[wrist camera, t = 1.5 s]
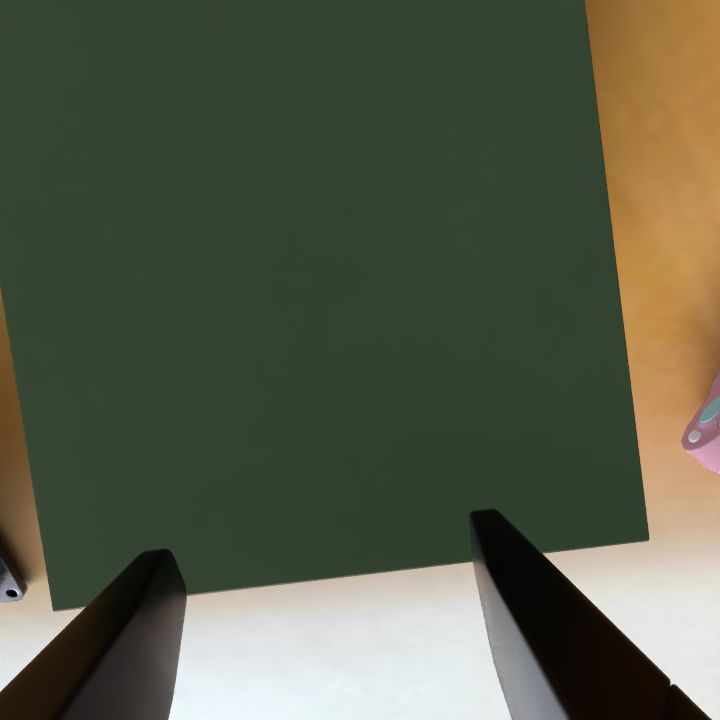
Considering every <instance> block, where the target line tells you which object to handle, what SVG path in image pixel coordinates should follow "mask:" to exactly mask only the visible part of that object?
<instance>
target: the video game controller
mask: <svg viewBox="0 0 720 720" xmlns="http://www.w3.org/2000/svg"><path fill="white" fill-rule="evenodd" d="M681 441H682V447H683V448H684V449H685V450H686V451H687V452H688V453H689V454H691V455H692V456H693V457H694V458H695V459H697V460H698V461H699V462H700V463H701V464H702V465H703V466H704V467H705V468H706V469H707V470H712V471H714V472H716V473H718V474H719V475H720V372H719V373H718V375H717V376H716V378H715V379H714V381H713V383H712V386H711V390H710V393H709V395H708V397H707V399H706V401H705V402H704V403H703V405H702V406H701V408H700V409H699V410H698V412H697V413H696V414H695V416H694V417H693V419H692V420H691V422H690V423H689V424H688V426H687V428H686V430H685V432H684V435H683V437H682V440H681Z"/></svg>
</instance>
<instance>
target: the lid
mask: <svg viewBox="0 0 720 720" xmlns="http://www.w3.org/2000/svg"><path fill="white" fill-rule="evenodd" d="M0 288H1V294H2V300H3V306H4V313H5V319H6V325H7V331H8V337H9V343H10V349H11V356H12V362H13V368H14V374H15V380H16V386H17V392H18V399H19V405H20V411H21V417H22V423H23V429H24V435H25V442H26V448H27V454H28V460H29V466H30V472H31V478H32V485H33V491H34V497H35V503H36V509H37V515H38V521H39V528H40V534H41V540H42V546H43V552H44V558H45V564H46V571H47V577H48V583H49V589H50V595H51V601H52V607H53V611H55V612H56V611H64V610H73V609H81V608H86V607H87V606H88V605H89V604H90V603H91V602H92V601H93V600H94V599H95V598H96V597H97V596H98V595H99V594H100V593H101V592H102V591H103V590H104V589H105V588H106V587H107V586H108V585H109V584H110V583H111V582H112V581H113V580H114V579H115V578H116V577H117V576H118V575H119V574H120V573H121V572H122V571H123V570H124V569H125V568H126V567H127V566H128V565H129V564H130V563H131V562H132V561H133V560H134V559H135V558H136V557H137V556H138V555H139V554H141V553H142V552H144V551H148V550H156V549H164V548H166V549H169V550H170V551H171V552H172V553H173V555H174V557H175V560H176V562H177V565H178V567H179V569H180V572H181V574H182V577H183V579H184V582H185V585H186V590H187V596H190V595H199V594H207V593H216V592H224V591H232V590H241V589H249V588H258V587H266V586H274V585H283V584H291V583H300V582H308V581H316V580H325V579H333V578H342V577H350V576H358V575H367V574H375V573H384V572H392V571H400V570H409V569H417V568H426V567H434V566H442V565H451V564H459V563H468V562H473V560H472V553H471V541H470V527H469V514H470V512H472V511H474V510H482V509H491V508H494V509H497V510H498V511H499V512H500V513H501V514H502V515H503V516H504V517H505V518H506V519H508V520H509V521H510V522H511V523H512V524H513V525H514V526H515V527H516V528H517V529H518V530H519V531H520V532H521V533H522V534H523V535H524V536H525V537H526V538H527V539H528V540H529V541H530V542H531V543H532V544H533V545H534V546H535V547H536V548H537V549H538V550H539V551H540V552H541V553H542V554H543V553H552V552H560V551H568V550H577V549H585V548H594V547H602V546H610V545H619V544H627V543H636V542H644V541H649V531H648V523H647V514H646V506H645V498H644V489H643V481H642V473H641V464H640V456H639V448H638V440H637V431H636V423H635V415H634V406H633V398H632V390H631V381H630V373H629V365H628V357H627V348H626V340H625V332H624V323H623V315H622V307H621V298H620V290H619V282H618V274H617V265H616V257H615V249H614V240H613V232H612V224H611V215H610V207H609V199H608V191H607V182H606V174H605V166H604V157H603V149H602V141H601V132H600V124H599V116H598V108H597V99H596V91H595V83H594V74H593V66H592V58H591V49H590V41H589V33H588V25H587V16H586V8H585V0H0Z"/></svg>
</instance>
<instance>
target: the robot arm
mask: <svg viewBox="0 0 720 720" xmlns="http://www.w3.org/2000/svg"><path fill="white" fill-rule="evenodd" d="M469 527H470V541H471V553H472V560H473V566H474V571H475V576H476V581H477V585H478V590H479V595H480V600H481V605H482V610H483V615H484V619H485V624H486V629H487V634H488V639H489V644H490V648H491V653H492V657H493V661H494V665H495V668H496V672H497V675H498V678H499V682H500V685H501V688H502V691H503V694H504V697H505V700H506V703H507V706H508V709H509V712H510V715H511V718H512V720H712V719H710V718H709V717H708V716H707V715H706V714H705V713H704V712H703V711H702V710H701V709H700V708H699V707H698V706H697V705H696V704H695V703H694V702H693V701H692V700H691V699H690V698H689V697H688V696H687V695H686V694H685V693H684V692H683V691H682V690H681V689H680V688H679V687H678V686H677V685H675V684H673V685H671V686H670V683H671V681H670V679H669V678H668V677H667V676H666V675H665V674H664V673H663V672H662V671H661V670H660V669H659V668H658V667H657V666H656V665H655V664H654V663H653V662H652V661H651V660H650V659H649V658H648V657H647V656H646V655H645V654H644V653H643V652H642V651H641V650H640V649H639V648H638V647H637V646H636V645H635V644H634V643H633V642H632V641H631V640H630V639H629V638H628V637H627V636H625V635H624V634H623V633H622V632H621V631H620V630H619V629H618V628H617V627H616V626H615V625H614V624H613V623H612V622H611V621H610V620H609V619H608V618H607V617H606V616H605V615H604V614H603V613H602V612H601V611H600V610H599V609H598V608H597V607H596V606H595V605H594V604H593V603H592V602H591V601H590V600H589V599H588V598H587V597H586V596H585V595H584V594H583V593H582V592H581V591H580V590H579V589H578V588H577V587H576V586H575V585H574V584H573V583H572V582H571V581H570V580H569V579H568V578H567V577H565V576H564V575H563V574H562V573H561V572H560V571H559V570H558V569H557V568H556V567H555V566H554V565H553V564H552V563H551V562H550V561H549V560H548V559H547V558H546V557H545V556H544V555H543V554H542V553H541V552H540V551H539V550H538V549H537V548H536V547H535V546H534V545H533V544H532V543H531V542H530V541H529V540H528V539H527V538H526V537H525V536H524V535H523V534H522V533H521V532H520V531H519V530H518V529H517V528H516V527H515V526H514V525H513V524H512V523H511V522H510V521H509V520H508V519H506V518H505V517H504V516H503V515H502V514H501V513H500V512H499V511H498V510H497V509H494V508H491V509H482V510H474V511H472V512H470V514H469ZM27 589H28V588H27V585H26V583H25V581H24V580H23V578H22V576H21V574H20V573H19V571H18V569H17V568H16V566H15V564H14V562H13V561H12V559H11V557H10V556H9V554H8V552H7V550H6V549H5V547H4V545H3V544H2V542H1V540H0V603H3V602H11V601H18V600H21V599H22V598H23V596H24V595H25V593H26V591H27ZM186 601H187V590H186V585H185V582H184V579H183V577H182V574H181V572H180V569H179V567H178V565H177V562H176V560H175V557H174V555H173V553H172V552H171V551H170V550H169V549H166V548H164V549H156V550H148V551H144V552H142V553H141V554H139V555H138V556H137V557H136V558H135V559H134V560H133V561H132V562H131V563H130V564H129V565H128V566H127V567H126V568H125V569H124V570H123V571H122V572H121V573H120V574H119V575H118V576H117V577H116V578H115V579H114V580H113V581H112V582H111V583H110V584H109V585H108V586H107V587H106V588H105V589H104V590H103V591H102V592H101V593H100V594H99V595H98V596H97V597H96V598H95V599H94V600H93V601H92V602H91V603H90V604H89V605H88V606H87V607H86V608H85V609H84V610H83V611H82V612H81V613H80V614H79V615H78V616H76V617H75V618H74V619H73V620H72V621H71V622H70V623H69V624H68V625H67V626H66V627H65V628H64V629H63V630H62V631H61V632H60V633H59V634H58V635H57V636H56V637H55V638H54V639H53V640H52V641H51V642H50V643H49V644H48V645H47V646H46V647H45V648H44V649H43V650H42V651H41V652H40V653H39V654H38V655H37V656H36V657H35V658H34V659H33V660H32V661H31V662H30V663H29V664H28V665H27V666H26V667H25V668H24V669H23V670H22V671H21V672H20V673H19V674H18V675H17V676H16V677H15V678H14V679H13V680H12V681H11V682H10V683H9V684H8V685H7V686H6V687H5V688H4V689H3V690H2V691H1V692H0V720H168V718H169V714H170V709H171V705H172V700H173V694H174V688H175V682H176V674H177V667H178V660H179V652H180V645H181V638H182V630H183V623H184V616H185V608H186Z"/></svg>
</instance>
